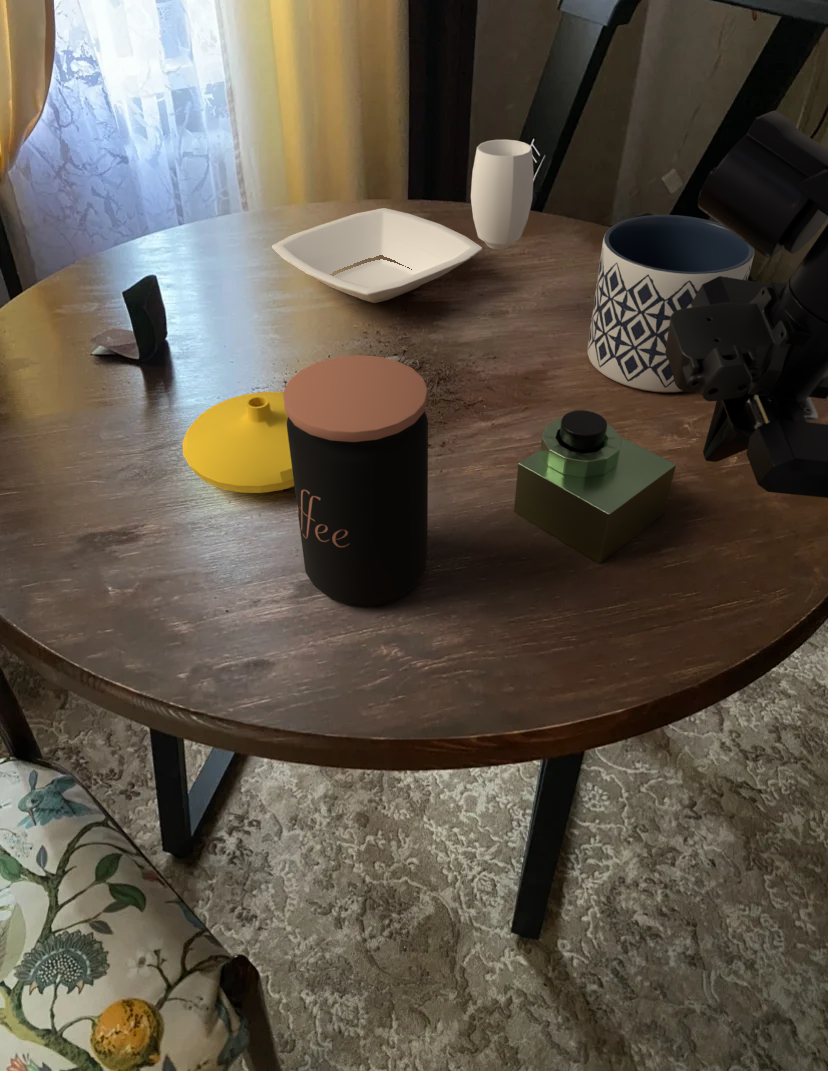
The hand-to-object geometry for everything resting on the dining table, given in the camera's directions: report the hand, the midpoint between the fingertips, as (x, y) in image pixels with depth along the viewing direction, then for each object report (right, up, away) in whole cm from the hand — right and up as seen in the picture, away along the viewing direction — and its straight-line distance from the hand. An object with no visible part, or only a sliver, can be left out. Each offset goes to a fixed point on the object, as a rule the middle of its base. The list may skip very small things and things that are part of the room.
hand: (709, 457), depth 65 cm
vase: (-38, +1, +20) cm, 43 cm away
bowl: (-28, +28, +50) cm, 64 cm away
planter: (+6, +15, +35) cm, 38 cm away
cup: (-13, +22, +43) cm, 50 cm away
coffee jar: (-27, -9, +8) cm, 30 cm away
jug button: (-8, +2, +10) cm, 13 cm away
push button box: (-7, -4, +14) cm, 16 cm away
